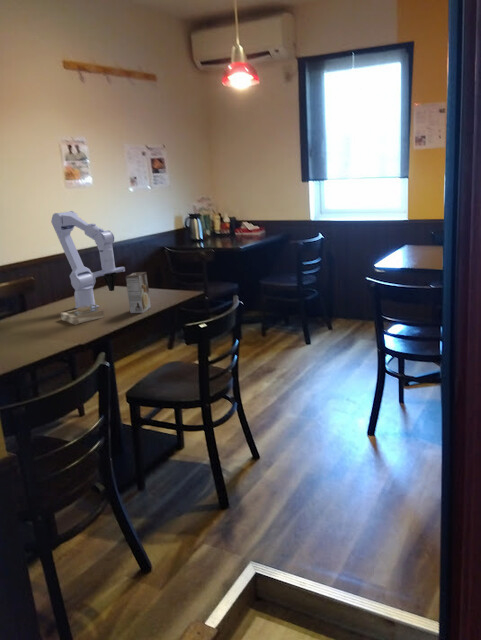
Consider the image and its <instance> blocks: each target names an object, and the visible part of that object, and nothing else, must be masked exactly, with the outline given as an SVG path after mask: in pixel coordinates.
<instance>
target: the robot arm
mask: <svg viewBox="0 0 481 640" xmlns="http://www.w3.org/2000/svg"><path fill="white" fill-rule="evenodd" d="M51 225H52V227H53V229H54V231H55V233H56V236H57V238H58V241H59V243H60V245H61V248H62V250H63V252H64V254H65V256H66V259H67V261H68V263H69V265H70V267H71V270H72V271H71V273H70V274H69V279H70V284H71V286H72V288H73V289H74V295H73V296H74V301H75V306H74V308H75V309H77V307H81V306H85V305H86V306H90V304H94V305H97V308H98V307H100V306H99V305H98V304H96V301H95V295H94V294H95V293H94V288H95V284H96V282H97V281H96V278H99V277H102V279H103V280H104V282H105V283H106V285H107V288H108V291H111V292H113V291H115V286H116V280H117V278H118V273H122V272H123V273H124V272H126V267H125V266H119V267H116V264H115V262H116V261H115V256H114V249H113V247H114V246H113V244H114V242H115V235H114V233H113V232H112V231H111V230H104V229H103V228H101V227H99V226H98V225H96V223H93V222H92V223H87V222H86V221H85V220H84V219H82V217H79V215H78V213H77V212H74V211H73V210H69V211H64V212H55V213H52V216H51ZM74 228H78V229H80V230H82V231H83V232H84V234H85V235H86V236H87V237H89V238H90V239H91V240H94V242H95V243H94V244H95V245H96V246H97V249H98V252H99V260H100V264H101V270H98V271H94V272H93V271H91V269H90V268H88V267H86V266H84V263H83V261H82V258H81V256H80V253H79V252H78V249H77V247H76V245H75V243H74V240H73V238H72V236H71V233H72V231H73V230H74ZM92 308H93V309H95V306H92Z"/></svg>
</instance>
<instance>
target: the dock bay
mask: <svg viewBox="0 0 481 640" xmlns="http://www.w3.org/2000/svg"><path fill="white" fill-rule="evenodd" d="M97 310H98V309H97ZM74 312H78V309H77V308H76V309H74V310H70V311H69V310H68V311H66V312H64V311H63V312H59V313H60V319H61V320H62V321H63V322H67V323H70V324H72V325H75V326H77V325H79V324H81V323H82V324H83V323H86V322H90V321H93V320H94V321H95V320H97V319H102V318H105V313H104V312H105V311H104V309H99V310H98V311H94V312H90V313H86V314H82V315H78V316H76V315H75V313H74Z"/></svg>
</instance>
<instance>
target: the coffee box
mask: <svg viewBox="0 0 481 640" xmlns="http://www.w3.org/2000/svg"><path fill="white" fill-rule="evenodd" d="M124 277H125V283H126V284H125V285H126V290H127V291H126V292H127V297H128V298H127V299H128V304H129V306H128V307H129V313H130V314H137V313H145V312H147V311H149V309H151V308H152V305H151V304H152V303H151V298H150V297H151V296H150V289H149V283H148V282H149V281H148V274H147V271H138V272H131V273H130V274H129V275H128V274H127V275H126V276H124Z"/></svg>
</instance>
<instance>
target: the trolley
mask: <svg viewBox="0 0 481 640" xmlns="http://www.w3.org/2000/svg"><path fill="white" fill-rule="evenodd" d="M97 305H98V304H95V305H94V304H90V306H86V305H85V306H81V307H77V308H76V310H77V309H78V312H74V313H75V315H76V316H78V315H82V314H86V313H90V312H94V311H98V307H97ZM92 306H95V308H92Z"/></svg>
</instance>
